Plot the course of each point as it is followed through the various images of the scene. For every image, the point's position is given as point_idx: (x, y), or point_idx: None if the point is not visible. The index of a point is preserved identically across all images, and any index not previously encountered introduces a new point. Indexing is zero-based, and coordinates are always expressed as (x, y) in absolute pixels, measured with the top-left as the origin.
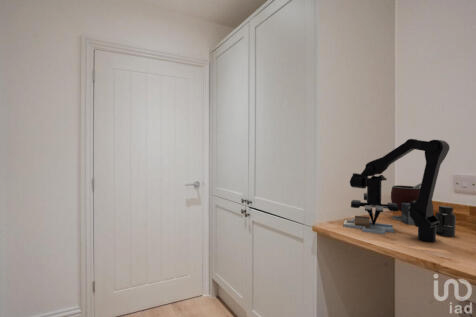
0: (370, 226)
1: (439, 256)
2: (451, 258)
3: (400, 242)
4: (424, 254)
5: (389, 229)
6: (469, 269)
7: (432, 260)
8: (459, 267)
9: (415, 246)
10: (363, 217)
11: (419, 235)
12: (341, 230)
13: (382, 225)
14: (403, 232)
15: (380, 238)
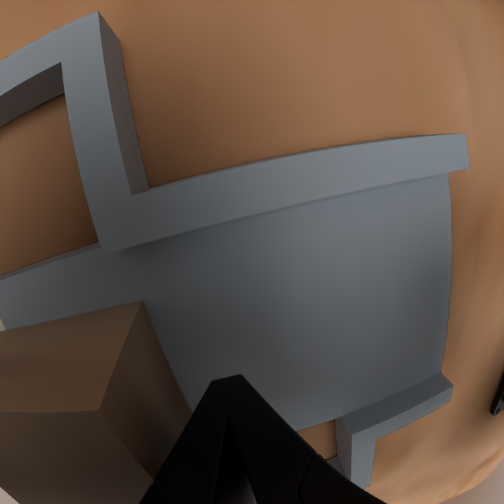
0: (173, 337)
1: (481, 463)
2: (500, 449)
3: (419, 464)
4: (450, 485)
5: (417, 413)
6: (492, 471)
7: (448, 496)
8: (481, 479)
9: (460, 453)
10: (61, 482)
11: None
12: None
13: (340, 189)
14: (496, 214)
15: None
